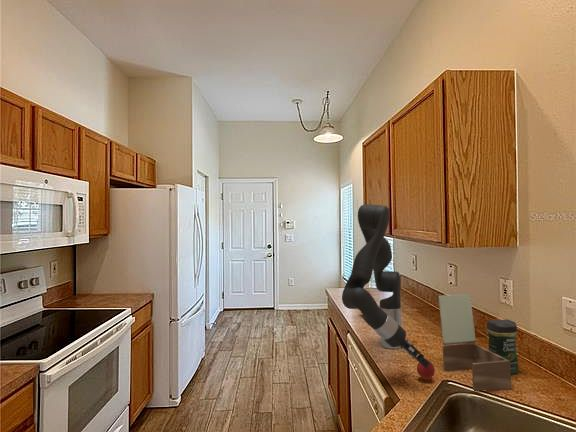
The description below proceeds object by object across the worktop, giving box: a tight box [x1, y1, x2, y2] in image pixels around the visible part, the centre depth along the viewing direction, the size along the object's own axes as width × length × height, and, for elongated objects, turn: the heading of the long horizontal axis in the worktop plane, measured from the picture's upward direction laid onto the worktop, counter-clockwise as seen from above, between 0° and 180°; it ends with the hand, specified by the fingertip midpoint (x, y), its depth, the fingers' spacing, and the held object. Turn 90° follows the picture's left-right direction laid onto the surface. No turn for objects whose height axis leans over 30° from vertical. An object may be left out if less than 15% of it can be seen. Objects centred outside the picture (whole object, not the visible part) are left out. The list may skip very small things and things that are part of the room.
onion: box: [416, 356, 436, 381], centre depth 126 cm, size 6×6×8 cm
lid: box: [438, 293, 477, 346], centre depth 136 cm, size 18×13×1 cm
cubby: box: [442, 342, 512, 392], centre depth 126 cm, size 18×13×9 cm
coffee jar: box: [486, 318, 520, 375], centre depth 132 cm, size 10×8×19 cm
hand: (421, 360), depth 126 cm, fingers open, 8 cm apart
